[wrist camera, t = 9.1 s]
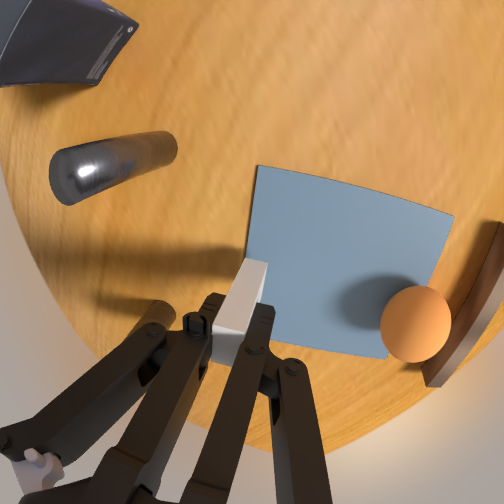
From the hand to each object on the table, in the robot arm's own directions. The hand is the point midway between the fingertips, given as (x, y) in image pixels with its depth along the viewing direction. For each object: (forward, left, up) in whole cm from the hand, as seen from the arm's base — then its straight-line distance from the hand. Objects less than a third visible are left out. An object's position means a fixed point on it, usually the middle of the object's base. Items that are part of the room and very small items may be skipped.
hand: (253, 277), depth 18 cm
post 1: (-7, -8, -2) cm, 11 cm away
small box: (-18, -17, -2) cm, 25 cm away
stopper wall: (0, +19, -2) cm, 19 cm away
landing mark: (0, +6, -2) cm, 6 cm away
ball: (+1, +12, +1) cm, 12 cm away
